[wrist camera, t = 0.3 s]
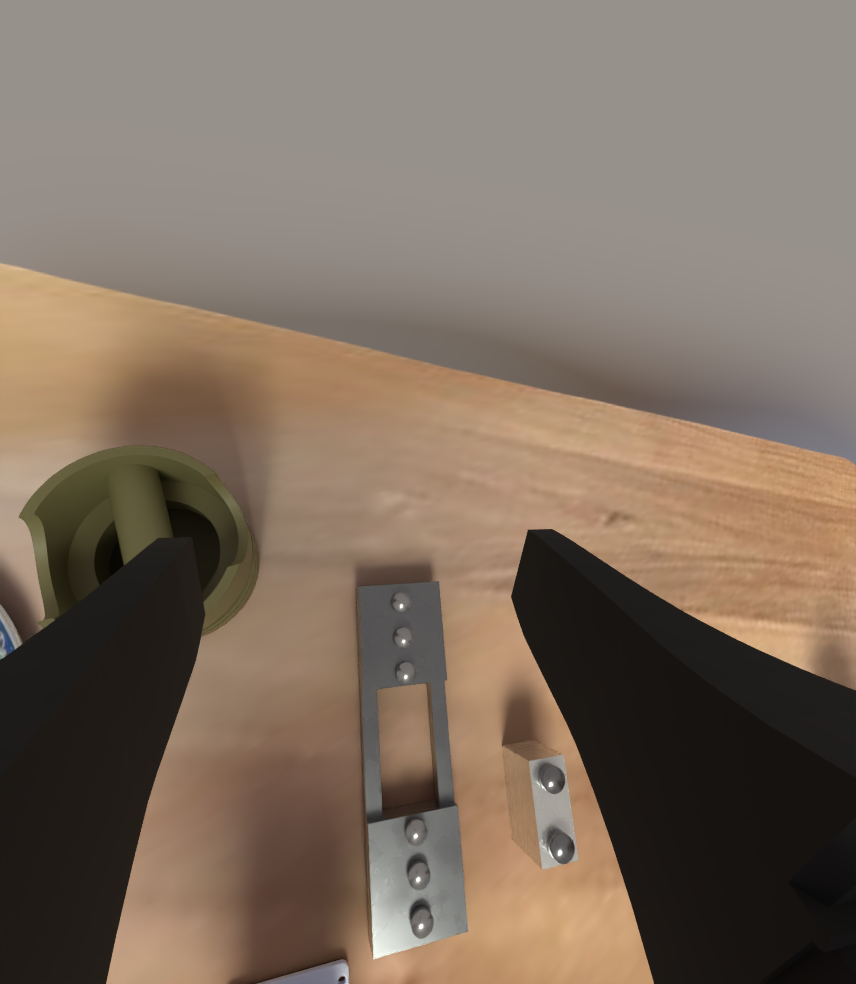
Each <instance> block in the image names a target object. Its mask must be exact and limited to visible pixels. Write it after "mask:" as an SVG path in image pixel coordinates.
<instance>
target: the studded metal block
mask: <svg viewBox="0 0 856 984" xmlns="http://www.w3.org/2000/svg"><path fill="white" fill-rule="evenodd" d="M502 752H503V761H504V770H505V779H506V788H507V797H508V806H509V816H510V825H511V834H512V840H513V841H514V842H515V843H516V844H517V845H518V846H519V847H520V848H521V849H522V850H523V851H524V852H525V853H526V854H527V855H528V856H529V857H530V858H531V859H532V860H533V861H534V862H535V863H536V864H537V865H538V866H539V867H540V868H541V869H542V870H543V869H547V868H551V867H555V866H559V865H562V864H567V863H570V862H574V861H577V860H578V854H577V846H576V839H575V832H574V825H573V818H572V811H571V804H570V797H569V789H568V782H567V775H566V768H565V761H564V755H563V754H561V753H559V752H557V751H555V750H553V749H551V748H549V747H547V746H545V745H543V744H541V743H539V742H537V741H534V740H529V741H524V742H518V743H512V744H506V745H502Z"/></svg>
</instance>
